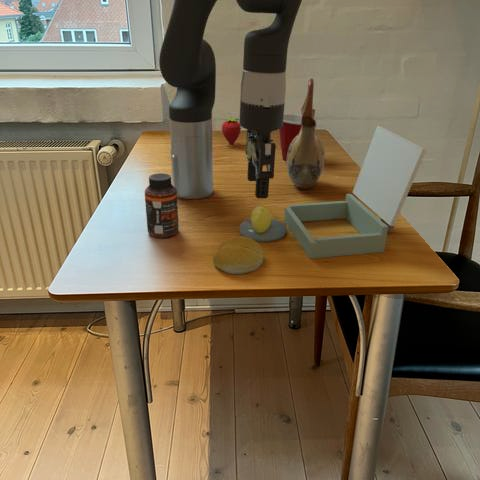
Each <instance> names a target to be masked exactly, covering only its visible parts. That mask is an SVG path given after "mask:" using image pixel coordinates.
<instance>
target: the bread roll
mask: <svg viewBox="0 0 480 480" xmlns="http://www.w3.org/2000/svg"><path fill="white" fill-rule="evenodd" d="M212 262H213V265H214V266H215V267H216V268H218V269H220V270H221V271H223V272H225V273H227V274H231V275H243V274H247V273H252V272H254V271H257V270H258V269H259V268H260V267H261V265H262V264H263V263H264V250H263V248H262V246H261V245H260V244H259V243H258V241H254V240H253V239H251V238H248V237H244V236H242V235H241V236H240V235H235V236H232V237H229V238H226V239H225V240H224V241H223V242H221V243H220V244H219V247H218V248H217V251H216V253H214V255H213V258H212Z"/></svg>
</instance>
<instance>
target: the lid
mask: <svg viewBox="0 0 480 480" xmlns="http://www.w3.org/2000/svg"><path fill="white" fill-rule="evenodd" d="M426 153H427V149H426V148H424V147H422V146H421V145H418V144H416V143H415V142H412V141H410V140H409V139H406V138H404V137H402V136H401V135H398V134H397V133H395V132H393V131H390V130H388V129H387V128H386V127H385V128H384V127H383V126H381V125H380V126H379V125H377V126H376V128H375V132H374V134H373V137H372V139H371V142H370V145H369V147H368V150H367V152H366V155H365V158H364V161H363V164H362V166H361V168H360V171H359V174H358V176H357V179H356V182H355V184H354V188H353V190H352V193H351V194H352V195H354V196H356V198H357V199H358V200H360V202H361V203H363V204H365V206H366V207H367V208H368V209H369V210H372V212H374V213H375V215H376V216H377V215H378V216H377V217H380V219H381V218H382V219H383V220H384V221H385V222H386V223H388V224H389V225H390V226H394V225H396V223H397V220H398V218H399V215H400V213H401V210H402V208H403V206H404V204H405V201H406V199H407V197H408V194H409V192H410V190H411V187H412V186H413V182H414V180H415V178H416V176H417V174H418V171H419V169H420V166H421V164H422V162H423V159H424V157H425V155H426ZM394 227H395V226H394Z"/></svg>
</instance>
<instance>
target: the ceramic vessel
mask: <svg viewBox="0 0 480 480" xmlns="http://www.w3.org/2000/svg"><path fill="white" fill-rule="evenodd" d="M314 83H315V82H314V78H309V80H308V83H307V91H306V92H307V93H306V97H305V100H304V102H303V104H302V107H301V109H300V110H301V115H302V118H301V130H300V132H299V134H298V135H297V136H296V137H295V138H294V139H293V140H292V142H291V144H290V146H289V149H288V152H287V159H286V161H285V162H286V170H287V174H288V178H289V179H290V182H291V183H292V184H293V185H294V186H296V187H297V188H298V189H303V190H305V189H310V188H311V187H313V186H314V185H315V184H316V183H317V182H318V181H319V179H320V177H321V176H322V173H323V170H324V168H325V167H324V166H325V162H326V161H325V159H326V158H325V156H326V155H325V148H324V144H323V142H322V141H321V139H320V138H319V137H318V136H317V135H316V132H315V131H316V127H317V120H316V119H315V113H316V109H314V108H313V102H314V85H315V84H314ZM315 120H316V121H315Z"/></svg>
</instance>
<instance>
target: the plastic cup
mask: <svg viewBox="0 0 480 480" xmlns="http://www.w3.org/2000/svg"><path fill="white" fill-rule="evenodd" d="M301 118H302V114H295V113H284V117H283V126H282V128H281V129H279V130H278V132H279V133H278V134H279V139H280V140H279V143H280V150H281V157H282V160H283V161H285V162H286V159H287V152H288V149H289V146H290V144H291V142H292V140H293V139H294V138H295V137H296V136H297V135H298V134H299V132H300V130H301ZM314 120H315V121H316V122H317V120H316V119H314Z"/></svg>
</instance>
